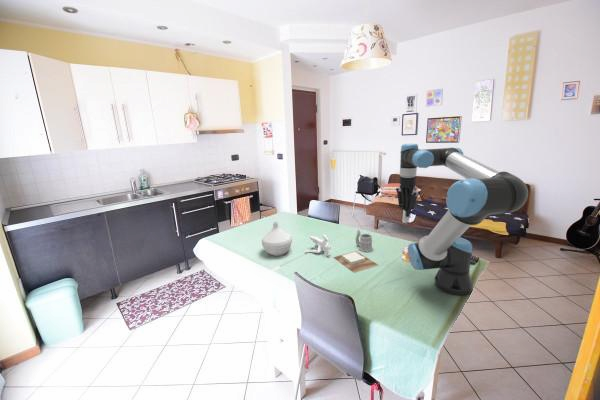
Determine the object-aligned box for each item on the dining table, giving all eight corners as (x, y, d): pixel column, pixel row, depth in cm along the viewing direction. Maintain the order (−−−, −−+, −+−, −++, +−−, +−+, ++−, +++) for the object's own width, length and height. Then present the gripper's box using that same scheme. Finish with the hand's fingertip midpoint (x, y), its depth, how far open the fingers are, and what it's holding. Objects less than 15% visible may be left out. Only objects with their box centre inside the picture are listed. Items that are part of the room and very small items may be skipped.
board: (378, 267, 147) (378, 265, 146) (353, 275, 140) (353, 272, 140) (356, 252, 164) (356, 251, 164) (332, 259, 158) (332, 257, 158)
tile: (365, 258, 151) (355, 251, 159) (351, 262, 147) (341, 255, 155) (365, 261, 151) (355, 254, 159) (351, 265, 148) (341, 258, 156)
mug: (366, 255, 161) (366, 235, 158) (351, 248, 170) (351, 230, 167) (375, 251, 165) (375, 232, 162) (360, 245, 174) (360, 227, 171)
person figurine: (301, 235, 167) (328, 235, 156) (313, 232, 177) (338, 232, 167) (303, 257, 166) (330, 258, 156) (314, 253, 177) (340, 254, 167)
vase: (298, 250, 171) (297, 221, 166) (276, 262, 158) (274, 230, 153) (278, 243, 183) (276, 215, 178) (256, 253, 170) (253, 223, 165)
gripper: (424, 177, 131) (421, 224, 137) (403, 173, 142) (401, 217, 148) (412, 179, 128) (409, 227, 134) (392, 175, 139) (390, 219, 145)
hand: (405, 222), depth 141 cm, fingers closed
